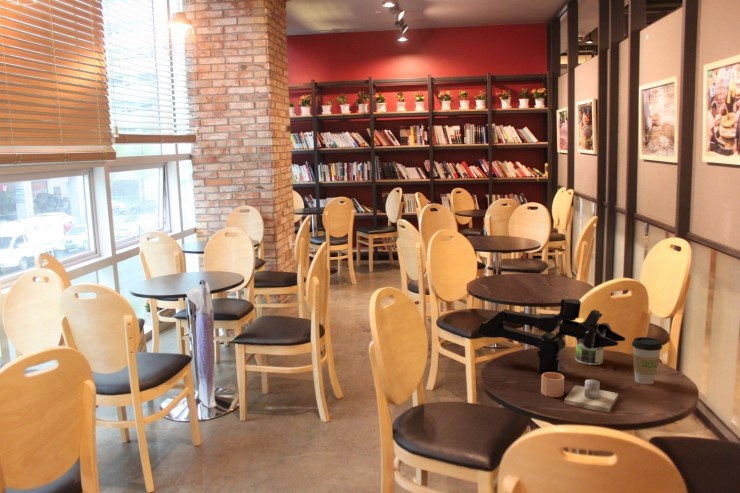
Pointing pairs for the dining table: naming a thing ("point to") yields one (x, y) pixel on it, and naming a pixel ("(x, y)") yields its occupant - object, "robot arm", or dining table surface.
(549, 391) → the collar sleeve
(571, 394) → the duct mount
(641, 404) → the dining table surface
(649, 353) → the coffee cup
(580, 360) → the coffee can
